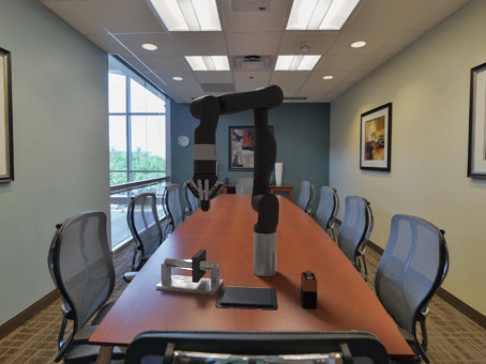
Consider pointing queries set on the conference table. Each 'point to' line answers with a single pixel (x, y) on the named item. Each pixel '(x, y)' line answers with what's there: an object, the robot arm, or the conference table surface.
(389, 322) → the conference table surface
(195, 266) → the dark grey wedge plate
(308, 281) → the battery
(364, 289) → the conference table surface
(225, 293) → the wallet
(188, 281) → the pipe stand
